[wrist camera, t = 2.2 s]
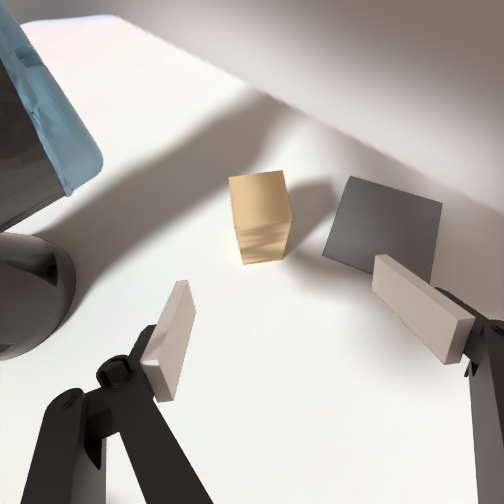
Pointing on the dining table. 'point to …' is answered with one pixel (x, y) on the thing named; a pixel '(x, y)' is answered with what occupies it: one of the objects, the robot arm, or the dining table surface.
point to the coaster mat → (384, 228)
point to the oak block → (260, 215)
